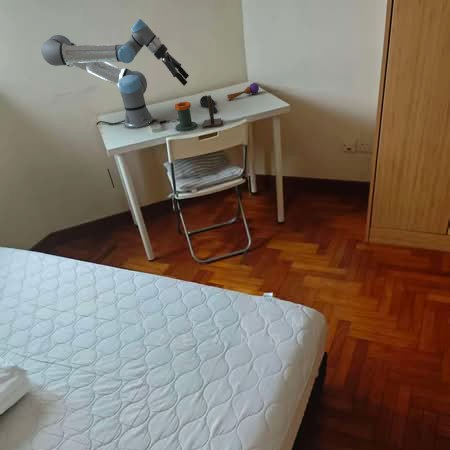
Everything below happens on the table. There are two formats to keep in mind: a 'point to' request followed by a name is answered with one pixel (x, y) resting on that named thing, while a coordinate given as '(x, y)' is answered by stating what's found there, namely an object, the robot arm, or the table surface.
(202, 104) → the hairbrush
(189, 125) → the stand
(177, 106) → the ring
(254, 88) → the kendama
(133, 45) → the robot arm
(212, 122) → the post
